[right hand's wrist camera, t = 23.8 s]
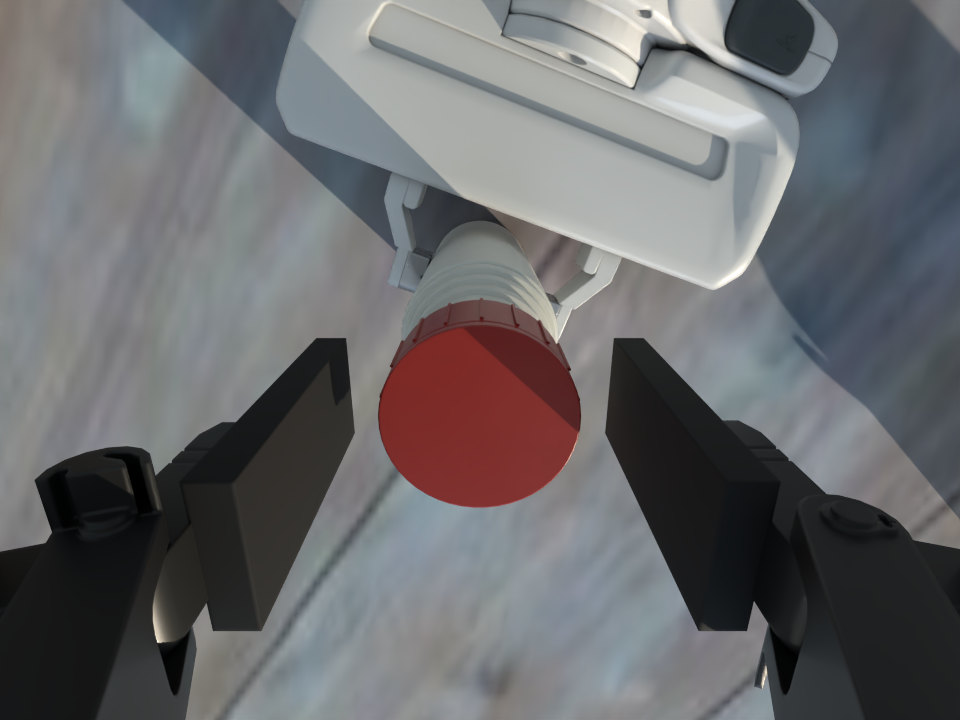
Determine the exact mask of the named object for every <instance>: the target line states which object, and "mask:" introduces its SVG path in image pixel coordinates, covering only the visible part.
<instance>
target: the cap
mask: <svg viewBox="0 0 960 720" xmlns="http://www.w3.org/2000/svg"><path fill="white" fill-rule="evenodd" d="M390 367H391V371H390V373H389V375H388V377H387V380H386V382H385V384H384V387H383V389H382V391H381V393H380V402H379V411H378V421H379V430H380V435H381V439H382V442H383V445H384V447H385V450H386V452H387V454H388V456H389V458H390V459H391V461H392V463H393V464H394V466H395V467H396V468H397V470H398V471H399V472H400V473H401V474H402V475H403V476H404V477H405V478H406V479H407V480H408V481H409V482H410V483H411V484H412V485H414V486H415V487H416V488H418V489H419V490H421V491H422V492H424V493H426V494H427V495H429V496H432V497H434V498H436V499H438V500H441V501H444V502H446V503H449V504H454V505H458V506H465V507H495V506H501V505H505V504H510V503H513V502H516V501H518V500H521V499H524V498H526V497H528V496H530V495H532V494H534V493H535V492H537V491H538V490H540V489H541V488H543V487H544V486H545V485H547V484H548V483H549V482H550V481H552V480H553V479H554V478H555V477H556V475H557V474H558V473H559V472H560V471H561V470H562V468H563V467H564V466H565V464H566V463H567V462H568V460H569V458H570V456H571V454H572V452H573V450H574V448H575V445H576V442H577V440H578V435H579V431H580V423H581V409H580V398H579V395H578V392H577V390H576V387H575V384H574V382H573V379H572V377H571V375H570V372H569V371H570V370H571V368H570V366H569V364H568V362H567V360H566V357H565V355H564V353H563V351H562V348H561V346H560V344H559V343H558V344H556V342H555V340H554V338H553V337H552V336H551V334H550V333H549V332H548V330H547V329H546V328H545V327H544V326H543V324H542V321H541V320H536V319H535V318H534V317H532V316H531V315H530V314H528V313H526V312H524V311H523V310H521V309H519V308H516V307H515V305H514V304H511V305H509V304H505V303H501V302H498V301H490V300H483V298H480V300H469V301H462V302H458V303H454V304H451V303H448V305H447V306H445V307H443V308H440V309H438V310H437V311H435V312H433V313H431V314H430V315H428V316H427V317H426V318H423V317H422V318H421V319H420V321H419V323H418V324H417V325H416V326H415V327H414V328H413V329H412V331H411V332H410V333H409V335H408V336H407V337H406V339H405V341H403V340H402V341H401V343H400V345H399V347H398V350H397V352H396V354H395V356H394V358H393V361H392V363H391V365H390Z"/></svg>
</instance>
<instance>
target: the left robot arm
mask: <svg viewBox="0 0 960 720" xmlns="http://www.w3.org/2000/svg"><path fill="white" fill-rule="evenodd" d="M837 49H838V38H837V35H836V33H835V31H834V29H833V28H832V26H831V25H830V24H829V23H828V22H827V20H826V19H825V18H824V17H823V16H822V15H821V14H820V13H819V12H818V11H817V10H816V9H815V8H814V7H813V6H812V5H811V3H810V2H809V1H808V0H304V1H303V4H302V6H301V9H300V12H299V14H298V17H297V20H296V23H295V26H294V29H293V32H292V35H291V38H290V41H289V44H288V48H287V51H286V55H285V58H284V61H283V65H282V69H281V73H280V77H279V80H278V85H277V89H276V104H277V107H278V110H279V112H280V114H281V117H282V119H283V121H284V124H285V126H286V128H287V130H288V131H289V132H290V133H291V134H293V135H295V136H297V137H300V138H303V139H305V140H308V141H311V142H313V143H316V144H319V145H322V146H324V147H327V148H330V149H332V150H335V151H338V152H340V153H343V154H346V155H349V156H351V157H354V158H357V159H359V160H362V161H365V162H367V163H370V164H373V165H376V166H378V167H381V168H384V169H386V170H389V171H392V172H391V175H390V179H389V182H388V186H387V190H386V193H385V197H384V202H385V207H386V211H387V215H388V219H389V223H390V227H391V231H392V235H393V239H394V244H395V246H396V247H398V248H397V252H396V255H395V259H394V262H393V265H392V269H391V272H390V275H389V279H388V284H389V285H391V286H394V287H396V288H400V289H403V290H406V291H409V292H412V293H414V292H415V290H416V288H417V286H418V285H419V283H420V281H421V279H422V277H423V275H424V273H425V271H426V269H427V267H428V265H429V264H430V261H431V258H432V255H433V253H432V252H429V251H427V250H424V249H422V248H419V247H416V246H417V244H416V239H415V234H414V229H413V224H412V219H411V214H410V209H415V208H417V207H419V206H420V205H422V202H423V199H424V196H425V193H426V189H427V186H428V185H429V186H432V187H435V188H438V189H440V190H443V191H446V192H448V193H451V194H454V195H456V196H459V197H462V198H465V199H467V200H470V201H473V202H475V203H478V204H481V205H483V206H486V207H489V208H492V209H494V210H497V211H500V212H502V213H505V214H508V215H510V216H513V217H516V218H519V219H521V220H524V221H527V222H529V223H532V224H535V225H537V226H540V227H543V228H546V229H548V230H551V231H554V232H556V233H559V234H562V235H564V236H567V237H570V238H572V239H575V240H578V241H581V242H582V245H581V247H580V250H579V252H578V255H577V257H576V260H575V262H576V264H577V265H578V266H579V267H580V268H581V269H582V271H581V272H580V273H579V274H577V275H576V276H575V277H574V278H573V279H571V280H570V281H569V282H568V283H567V284H565V285H564V286H563V287H562V288H561V289H559V290H558V291H557V292H556V293H555V294H554V295H551V294H548V293H546V295H547V297H548V299H549V301H550V303H551V306H552V308H553V311H554V314H555V317H556V322H557V330H558V339H559V338H560V336H561V333H562V331H563V329H564V326H565V324H566V322H567V319H568V317H569V315H570V312H571V310H572V309H574V310H575V309H576V308H577V307H579V306H580V305H581V304H583V303H584V302H585V301H587V300H588V299H589V298H591V297H592V296H593V295H595V294H596V293H597V292H599V291H600V290H601V289H603V288H604V287H605V286H607V285H608V284H609V283H611V281H612V279H613V276H614V274H615V272H616V270H617V268H618V265H619V263H620V261H621V259H622V257H624V258H626V259H629V260H632V261H635V262H637V263H640V264H643V265H645V266H648V267H651V268H653V269H656V270H659V271H662V272H664V273H667V274H670V275H672V276H675V277H678V278H680V279H683V280H686V281H689V282H691V283H694V284H697V285H699V286H702V287H705V288H708V289H711V290H715V289H718V288H720V287H722V286H724V285H726V284H727V283H729V282H731V281H732V280H734V279H735V278H737V277H739V276H740V275H741V274H742V273H743V272H744V271H745V270H746V268H747V267H748V265H749V264H750V262H751V260H752V258H753V257H754V255H755V253H756V251H757V249H758V247H759V245H760V243H761V241H762V239H763V237H764V235H765V233H766V231H767V229H768V227H769V225H770V223H771V220H772V218H773V216H774V214H775V211H776V209H777V207H778V205H779V202H780V200H781V198H782V195H783V193H784V190H785V188H786V185H787V183H788V180H789V178H790V175H791V172H792V170H793V167H794V164H795V161H796V157H797V153H798V148H799V141H800V128H799V122H798V118H797V115H796V113H795V111H794V109H793V108H792V106H791V105H790V103H789V102H788V101H787V100H790V99H793V98H796V97H798V96H801V95H804V94H806V93H808V92H811V91H812V90H814V89H815V88H816V87H817V86H818V85H819V84H820V83H821V82H822V80H823V79H824V77H825V76H826V74H827V72H828V71H829V69H830V67H831V64H832V63H833V61H834V59H835V56H836V53H837ZM409 208H410V209H409ZM558 339H557V341H558Z"/></svg>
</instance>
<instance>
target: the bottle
mask: <svg viewBox="0 0 960 720" xmlns="http://www.w3.org/2000/svg"><path fill="white" fill-rule="evenodd" d="M480 298H483V300H490V301H498V302H501V303H505V304H509V305H511V304H514V305H515V307H516V308H519V309H521V310H523V311H524V312H526V313H528V314H530V315H531V316H532V317H534V318H535V319H536V320H541V321H542V324H543V326H544V327H545V328H546V329H547V330H548V332H549V333H550V334H551V336H552V337H553V338H554V340H555V342H556V344H557V339H558V330H557V322H556V317H555V314H554V311H553V308H552V306H551V303H550V301H549V299H548V297H547V295H546V293H545V292H544V290H543V288H542V286H541V284H540V282H539V280H538V278H537V276H536V274H535V272H534V270H533V268H532V267H531V265H530V263H529V261H528V259H527V257H526V255H525V253H524V251H523V249H522V247H521V245H520V244H519V242H518V240H517V239H516V238H515V237H514V235H513V234H512V233H510V232H509V231H508V230H507V229H505V228H504V227H502V226H500V225H498V224H496V223H493V222H488V221H471V222H467V223H464V224H461V225H459V226H457V227H456V228H454V229H453V230H451V231H450V232H449V233H448V234H447V235H446V236H445V237H444V239H443V240H442V241H441V243H440V245H439V246H438V248H437V250H436V252H435V254H434V256H433V258H432V260H431V262H430V264H429V265H428V267H427V269H426V271H425V273H424V275H423V277H422V279H421V281H420V283H419V285H418V286H417V288H416V290H415V292H414V294H413V296H412V298H411V300H410V302H409V304H408V306H407V309H406V311H405V315H404V319H403V324H402V340H403V341H405V339H406V337H407V336H408V335H409V333H410V332H411V331H412V329H413V328H414V327H415V326H416V325H417V324H418V323H419V321H420V319H421V318H422V317H423V318H426V317H427V316H428V315H430V314H431V313H433V312H435V311H437V310H438V309H440V308H443V307H445V306H447V305H448V303H451V304H454V303H458V302H462V301H469V300H480Z"/></svg>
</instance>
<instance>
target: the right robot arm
mask: <svg viewBox="0 0 960 720" xmlns="http://www.w3.org/2000/svg"><path fill="white" fill-rule="evenodd" d="M354 434H355V431H354V420H353V409H352V398H351V387H350V376H349V365H348V354H347V343H346V338H316V339H315V340H314V341H313V342H312V343H311V344H310V346H309V347H308V348H307V349H306V350H305V351H304V352H303V353H302V354H301V355H300V356H299V357H298V358H297V359H296V360H295V361H294V362H293V363H292V364H291V365H290V366H289V367H288V368H287V370H286V371H285V372H284V373H283V374H282V375H281V376H280V377H279V378H278V379H277V380H276V381H275V382H274V383H273V384H272V385H271V386H270V387H269V388H268V389H267V390H266V391H265V392H264V394H263V395H262V396H261V397H260V398H259V399H258V400H257V401H256V402H255V403H254V404H253V405H252V406H251V407H250V408H249V409H248V410H247V411H246V412H245V413H244V414H243V415H242V416H241V418H240V419H239V420H238V421H237V422H222V423H220V424H218V425H216V426H214V427H212V428H210V429H209V430H207V431H205V432H203V433H201V434H199V435H198V436H197V437H196V438H195V439H194V440H193V441H192V442H191V443H190V444H189V445H188V446H187V447H186V448H185V450H184V451H181V452H180V453H179V454H178V455H177V456H176V457H175V458H174V459H173V460H172V463H169V464H168V465H167V466H166V467H164V468H163V469H162V470H161V471H160V472H159V473H158V474H157V475H156V476H155V472H154V468H153V464H152V460H151V456H150V453H148V452H147V451H145V450H144V449H142V448H136V447H129V446H124V447H110V448H104V449H99V450H95V451H90V452H86V453H83V454H80V455H77V456H75V457H72V458H69V459H66V460H64V461H62V462H60V463H58V464H56V465H54V466H53V467H51V468H49V469H47V470H46V471H44V472H43V473H42V474H41V475H40V476H39V477H38V478H36V479H35V483H36V486H37V489H38V492H39V495H40V498H41V501H42V504H43V507H44V510H45V512H46V515H47V518H48V521H49V524H50V527H51V530H52V534H51V535H50V537H49V539H48V540H47V542H46V543H44V544H39V545H33V546H28V547H23V548H18V549H12V550H7V551H2V552H0V720H185V718H186V712H187V706H188V700H189V694H190V687H191V681H192V675H193V669H194V663H195V657H196V650H197V649H196V641H195V636H194V631H193V627H192V625H193V623H194V622H195V620H196V619H197V617H198V615H199V614H200V612H201V611H202V609H203V608H204V606H205V604H206V603H207V606H208V611H209V615H210V620H211V624H212V628H213V631H262V628H263V626H264V624H265V622H266V620H267V618H268V616H269V614H270V612H271V609H272V607H273V605H274V603H275V601H276V599H277V597H278V595H279V592H280V590H281V588H282V586H283V584H284V582H285V580H286V578H287V576H288V573H289V571H290V569H291V567H292V565H293V563H294V561H295V559H296V556H297V554H298V552H299V550H300V548H301V546H302V544H303V542H304V539H305V537H306V535H307V533H308V531H309V529H310V527H311V525H312V523H313V520H314V518H315V516H316V514H317V512H318V510H319V508H320V506H321V503H322V501H323V499H324V497H325V495H326V493H327V491H328V489H329V486H330V484H331V482H332V480H333V478H334V476H335V474H336V472H337V470H338V467H339V465H340V463H341V461H342V459H343V457H344V455H345V453H346V450H347V448H348V446H349V444H350V442H351V440H352V438H353V436H354ZM605 434H606V436H607V438H608V440H609V442H610V444H611V446H612V448H613V450H614V453H615V455H616V457H617V459H618V461H619V463H620V465H621V467H622V470H623V472H624V474H625V476H626V478H627V480H628V482H629V484H630V486H631V489H632V491H633V493H634V495H635V497H636V499H637V501H638V503H639V506H640V508H641V510H642V512H643V514H644V516H645V518H646V520H647V523H648V525H649V527H650V529H651V531H652V533H653V535H654V537H655V539H656V542H657V544H658V546H659V548H660V550H661V552H662V554H663V556H664V559H665V561H666V563H667V565H668V567H669V569H670V571H671V573H672V576H673V578H674V580H675V582H676V584H677V586H678V588H679V590H680V592H681V595H682V597H683V599H684V601H685V603H686V605H687V607H688V609H689V612H690V614H691V616H692V618H693V620H694V622H695V624H696V626H697V628H698V631H747V628H748V624H749V620H750V615H751V611H752V606H753V602H755V603H756V605H757V606H758V608H759V609H760V611H761V613H762V614H763V616H764V617H765V619H766V620H767V622H768V627H767V631H766V636H765V640H764V644H763V648H762V652H761V656H760V660H759V664H758V668H757V672H756V678H755V686H754V687H757V688H761V689H763V685H764V681H765V677H766V676H767V675H768V680H769V686H770V692H771V698H772V705H773V711H774V717H775V720H960V549H956V548H951V547H946V546H940V545H935V544H930V543H925V542H919V541H914V540H913V539H912V538H911V536H910V534H909V533H908V531H907V530H906V529H905V528H904V527H903V526H902V525H901V524H900V523H899V522H898V521H897V520H896V519H894V518H893V517H891V516H890V515H888V514H887V513H885V512H884V511H882V510H880V509H878V508H876V507H874V506H871V505H869V504H866V503H864V502H862V501H859V500H855V499H851V498H847V497H844V496H840V495H829V494H826V493H825V492H824V491H823V490H822V489H820V488H819V487H818V486H817V485H816V484H815V483H814V482H813V481H812V480H811V479H810V478H809V477H808V476H807V475H806V474H805V473H803V472H802V471H801V470H800V469H799V468H798V467H797V466H796V465H795V464H794V463H793V462H792V461H788V457H787V456H785V455H784V454H783V453H782V452H781V451H780V450H779V449H776V446H775V445H774V444H773V443H772V442H771V441H770V440H768V439H767V438H766V437H765V436H764V435H763V434H762V433H761V432H759V431H757V430H755V429H753V428H752V427H750V426H748V425H746V424H744V423H742V422H740V421H722V420H721V419H720V418H719V416H718V415H717V414H716V413H715V412H714V411H713V410H712V409H711V408H710V407H709V406H708V405H707V404H706V403H705V402H704V401H703V400H702V399H701V398H700V397H699V396H698V395H697V394H696V392H695V391H694V390H693V389H692V388H691V387H690V386H689V385H688V384H687V383H686V382H685V381H684V380H683V379H682V378H681V377H680V376H679V375H678V374H677V373H676V372H675V371H674V370H673V368H672V367H671V366H670V365H669V364H668V363H667V362H666V361H665V360H664V359H663V358H662V357H661V356H660V355H659V354H658V353H657V352H656V351H655V350H654V349H653V348H652V347H651V346H650V344H649V343H648V342H647V341H646V340H645V339H644V338H614V343H613V354H612V365H611V376H610V387H609V398H608V409H607V420H606V431H605Z"/></svg>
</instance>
